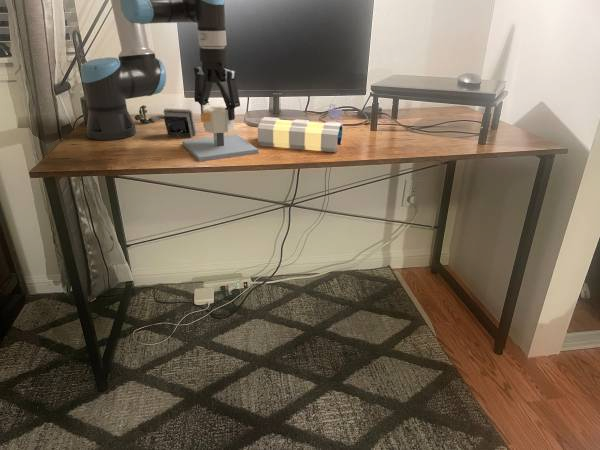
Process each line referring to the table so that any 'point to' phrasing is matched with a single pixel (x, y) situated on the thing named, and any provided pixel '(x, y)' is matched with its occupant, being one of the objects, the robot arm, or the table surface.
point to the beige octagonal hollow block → (214, 119)
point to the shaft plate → (219, 147)
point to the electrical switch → (179, 123)
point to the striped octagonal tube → (302, 133)
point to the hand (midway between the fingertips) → (218, 128)
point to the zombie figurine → (144, 121)
